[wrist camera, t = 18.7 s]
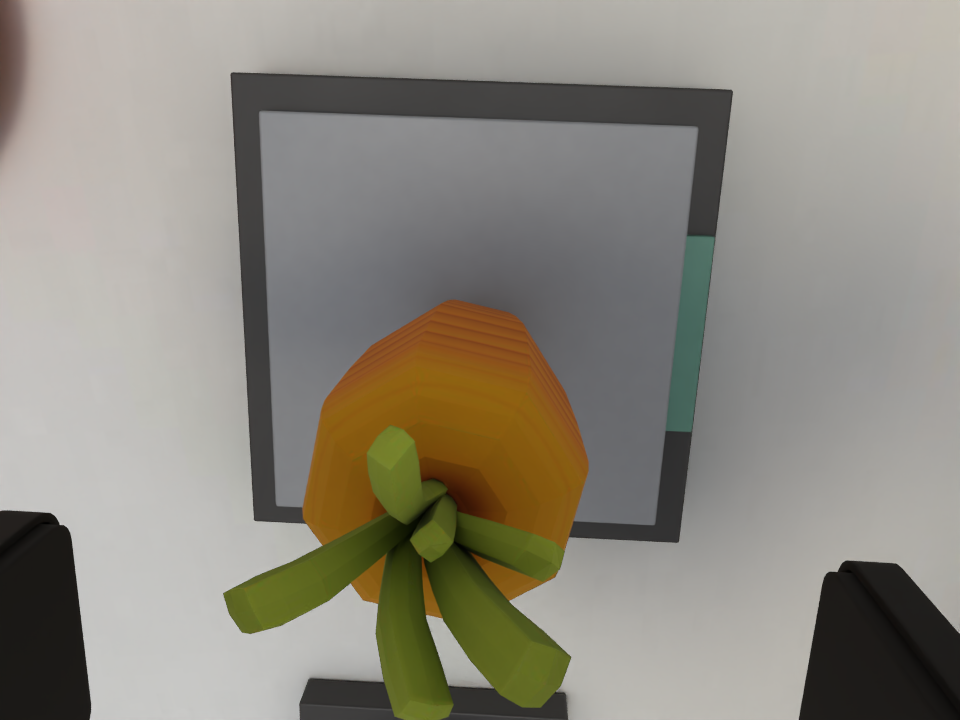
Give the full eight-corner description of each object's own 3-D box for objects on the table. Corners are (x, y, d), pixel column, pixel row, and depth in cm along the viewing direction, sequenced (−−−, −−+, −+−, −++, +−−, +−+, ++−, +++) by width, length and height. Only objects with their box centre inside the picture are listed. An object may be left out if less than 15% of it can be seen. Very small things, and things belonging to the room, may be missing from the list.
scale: (712, 93, 24) (741, 88, 21) (665, 509, 28) (684, 556, 25) (256, 77, 24) (219, 70, 21) (274, 489, 28) (245, 533, 25)
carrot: (356, 352, 23) (106, 712, 9) (452, 215, 22) (340, 379, 8) (491, 445, 24) (459, 918, 10) (592, 317, 23) (729, 643, 8)
